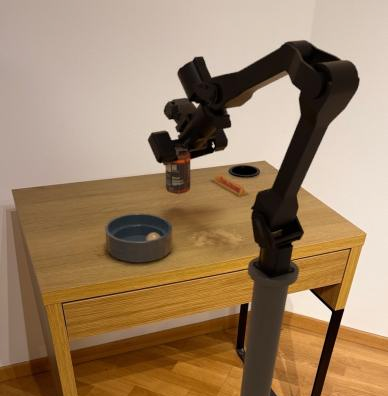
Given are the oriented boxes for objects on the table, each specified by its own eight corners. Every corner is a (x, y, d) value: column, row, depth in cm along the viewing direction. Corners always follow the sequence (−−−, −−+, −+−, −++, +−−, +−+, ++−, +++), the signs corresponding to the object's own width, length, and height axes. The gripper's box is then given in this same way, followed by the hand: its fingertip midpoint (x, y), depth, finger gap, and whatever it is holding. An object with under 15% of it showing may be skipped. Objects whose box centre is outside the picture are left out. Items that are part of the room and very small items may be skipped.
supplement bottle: (187, 184, 123) (187, 137, 116) (192, 193, 119) (193, 145, 112) (163, 186, 122) (162, 138, 115) (168, 195, 117) (167, 146, 110)
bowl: (183, 255, 106) (183, 234, 103) (121, 270, 101) (120, 248, 98) (155, 229, 116) (154, 209, 113) (97, 241, 111) (95, 220, 107)
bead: (158, 254, 108) (167, 242, 106) (145, 251, 106) (153, 240, 103) (153, 242, 110) (162, 230, 107) (140, 239, 107) (148, 227, 105)
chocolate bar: (221, 179, 142) (221, 172, 141) (246, 194, 134) (247, 186, 133) (213, 181, 141) (214, 173, 140) (238, 195, 133) (239, 187, 132)
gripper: (223, 82, 108) (192, 124, 121) (150, 91, 99) (126, 136, 113) (243, 129, 108) (211, 166, 121) (172, 142, 99) (146, 180, 113)
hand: (174, 161), depth 117 cm, fingers closed on supplement bottle, 6 cm apart
